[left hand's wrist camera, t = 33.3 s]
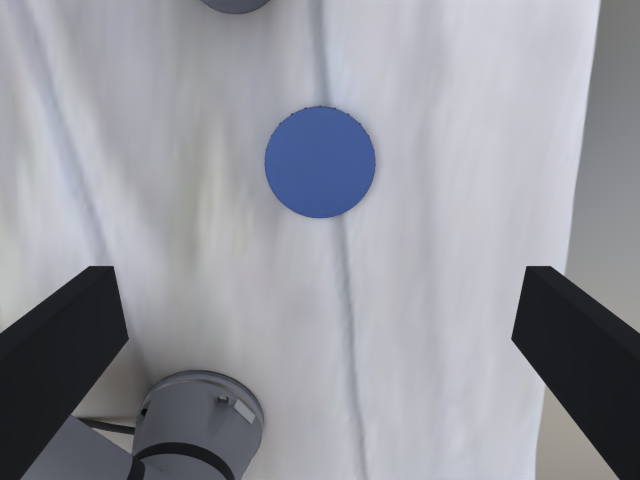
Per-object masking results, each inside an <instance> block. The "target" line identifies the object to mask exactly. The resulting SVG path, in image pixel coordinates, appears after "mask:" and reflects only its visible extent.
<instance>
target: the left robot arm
mask: <svg viewBox="0 0 640 480" xmlns="http://www.w3.org/2000/svg"><path fill="white" fill-rule="evenodd" d="M128 340H129V338H128V333H127V328H126V323H125V319H124V314H123V309H122V304H121V300H120V295H119V290H118V285H117V281H116V276H115V271H114V266H89V267H88V268H86V269H85V270H84V271H82V272H81V273H80V274H78V275H77V276H76V277H74V278H73V279H72V280H70V281H69V282H68V283H66V284H65V285H64V286H62V287H61V288H60V289H58V290H57V291H56V292H55V293H53V294H52V295H51V296H49V297H48V298H47V299H45V300H44V301H43V302H41V303H40V304H39V305H37V306H36V307H35V308H33V309H32V310H31V311H29V312H28V313H27V314H25V315H24V316H23V317H21V318H20V319H19V320H17V321H16V322H15V323H14V324H12V325H11V326H10V327H8V328H7V329H6V330H4V331H3V332H2V333H0V480H240V479H241V477H242V476H243V474H244V472H245V470H246V469H247V467H248V465H249V463H250V461H251V459H252V458H253V457H254V455H255V454H256V452H257V450H258V448H259V446H260V442H261V438H262V432H263V424H264V420H263V414H262V410H261V408H260V405H259V403H258V402H257V400H256V399H255V397H254V396H253V395H252V394H251V393H250V392H249V391H248V390H247V389H246V388H245V387H244V386H242V385H241V384H239V383H238V382H236V381H234V380H232V379H230V378H228V377H226V376H223V375H220V374H216V373H212V372H205V371H188V372H182V373H177V374H174V375H171V376H169V377H167V378H165V379H163V380H161V381H160V382H159V383H157V384H156V385H155V386H154V387H153V388H152V389H151V390H150V391H149V393H148V394H147V396H146V398H145V400H144V401H143V403H142V405H141V407H140V409H139V411H138V414H137V419H136V427H128V426H121V425H115V424H109V423H104V422H99V421H93V420H83V419H76V418H75V417H73V416H72V415H71V413H72V412H73V411H74V410H75V408H76V407H77V406H78V404H79V403H80V402H81V400H82V399H83V398H84V397H85V395H86V394H87V393H88V391H89V390H90V389H91V387H92V386H93V385H94V384H95V382H96V381H97V380H98V378H99V377H100V376H101V375H102V373H103V372H104V371H105V369H106V368H107V367H108V365H109V364H110V363H111V362H112V360H113V359H114V358H115V356H116V355H117V354H118V353H119V351H120V350H121V349H122V347H123V346H124V345H125V343H126V342H127V341H128ZM511 340H512V341H513V342H514V343H515V345H516V346H517V347H518V349H519V350H520V351H521V353H522V354H523V355H524V356H525V358H526V359H527V360H528V362H529V363H530V364H531V365H532V367H533V368H534V369H535V371H536V372H537V373H538V375H539V376H540V377H541V378H542V380H543V381H544V382H545V384H546V385H547V386H548V387H549V389H550V390H551V391H552V393H553V394H554V395H555V397H556V398H557V399H558V400H559V402H560V403H561V404H562V406H563V407H564V408H565V410H566V411H567V412H568V413H569V415H570V416H571V417H572V419H573V420H574V421H575V422H576V424H577V425H578V426H579V428H580V429H581V430H582V431H583V433H584V434H585V435H586V437H587V438H588V439H589V441H590V442H591V443H592V444H593V446H594V447H595V448H596V450H597V451H598V452H599V453H600V455H601V456H602V457H603V459H604V460H605V461H606V463H607V464H608V465H609V466H610V468H611V469H612V470H613V472H614V473H615V474H616V476H617V477H618V478H619V479H620V480H640V333H638V332H637V331H636V330H634V329H633V328H632V327H630V326H629V325H628V324H626V323H625V322H624V321H623V320H621V319H620V318H619V317H617V316H616V315H615V314H613V313H612V312H611V311H609V310H608V309H607V308H605V307H604V306H603V305H601V304H600V303H599V302H597V301H596V300H595V299H593V298H592V297H591V296H589V295H588V294H587V293H585V292H584V291H583V290H582V289H580V288H579V287H578V286H576V285H575V284H574V283H572V282H571V281H570V280H568V279H567V278H566V277H564V276H563V275H562V274H560V273H559V272H558V271H556V270H555V269H554V268H552V267H551V266H526V271H525V276H524V281H523V285H522V290H521V295H520V300H519V304H518V309H517V314H516V319H515V323H514V328H513V333H512V338H511ZM90 427H91V428H90ZM92 428H97V429H102V430H107V431H112V432H118V433H125V434H132V435H134V441H133V448H132V455H131V454H130V453H128V452H127V451H125V450H124V449H122V448H121V447H119V446H118V445H116V444H114V443H113V442H111V441H110V440H108V439H107V438H105V437H104V436H102V435H101V434H99V433H98V432H96V431H95V430H93V429H92Z"/></svg>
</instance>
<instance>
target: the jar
mask: <svg viewBox="0 0 640 480" xmlns="http://www.w3.org/2000/svg"><path fill="white" fill-rule="evenodd" d="M201 1H202V2H203V3H205V4H206V5H208V6H209V7H211V8H213V9H215V10H217V11H220V12H224V13H229V14H243V13H248V12H251V11H254V10H256V9H258V8H260V7H261V6H263V5H264V4H266V3H267V2H268V1H269V0H201Z"/></svg>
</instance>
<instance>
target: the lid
mask: <svg viewBox="0 0 640 480" xmlns="http://www.w3.org/2000/svg"><path fill="white" fill-rule="evenodd" d="M265 171H266V176H267V180H268V182H269V185H270V187H271V189H272V191H273V193H274V194H275V195H276V197H277V198H278V199H279V200H280V201H281V202H282V203H283V204H284V205H285V206H286V207H287V208H289V209H291V210H292V211H294V212H296V213H298V214H300V215H303V216H307V217H312V218H328V217H334V216H337V215H340V214H342V213H344V212H346V211H348V210H350V209H351V208H353V207H354V206H355V205H356V204H358V202H359V201H360V200H361V199H362V198H363V197H364V196H365V194H366V193H367V191H368V189H369V187H370V185H371V183H372V180H373V176H374V172H375V154H374V149H373V146H372V143H371V140H370V138H369V135H368V134H367V133H366V131H365V130H364V129H363V127H362V126H361V124H360V123H358V122H357V121H356V120H355V119H353V118H352V117H351V116H349V114H346V113H344V112H342V111H340V110H337V109H336V108H329V107H321V106H320V107H311V108H305V109H303V110H300V111H298V112H296V113H294V114H293V113H292V114H291V116H290V117H288V118H287V119H285V120H284V121H283V122H282V123H280V124H279V126H278V128H277V129H276V130H275V131H274V133H273V134H272V135H271V138H270V141H269V143H268V146H267V149H266V155H265Z"/></svg>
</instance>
